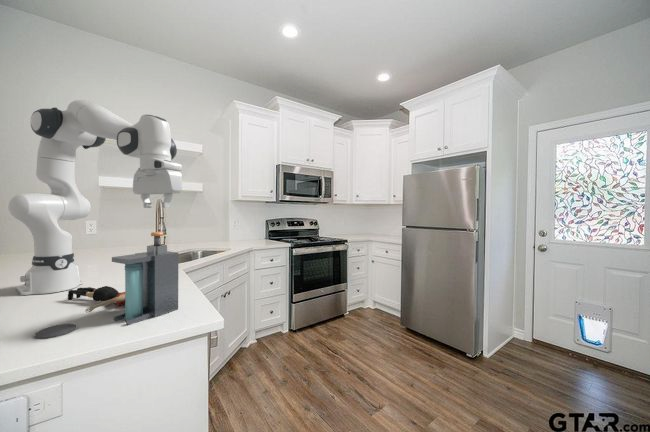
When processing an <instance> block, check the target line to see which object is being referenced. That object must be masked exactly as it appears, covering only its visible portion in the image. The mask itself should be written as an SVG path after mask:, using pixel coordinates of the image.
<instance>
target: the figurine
mask: <svg viewBox="0 0 650 432" xmlns="http://www.w3.org/2000/svg"><path fill="white" fill-rule="evenodd" d="M67 293H68V294H67V300H68V301H69V300H70V301H72V300H74V295H76V299H80V298H81V297H88V298H90V299H92V300H93V301H95V302H99V303H97V304H95V305H94V304H93V305H89V306H88V307H86V309H85V313H86V314H87V313H90V312H92V311H94V310H95V309H96V308H100V307H102V306H103V307H104V306H107V305H110V304H113V303H115V305H116V306H117V307H120V306H123V305H125V291H123V292H119V291H118V290H117V289H116V288H114V287H111V286H108V285H105V286H100V287H98V288H94V287H77V288H76V289H69V290H67Z"/></svg>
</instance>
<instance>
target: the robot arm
mask: <svg viewBox="0 0 650 432" xmlns="http://www.w3.org/2000/svg"><path fill="white" fill-rule="evenodd" d="M30 127H31V130H32V132H34V134H35V135H38V136H40V137H41V139H40V140H39V145H38V149H37V156H36V158H37V159H36V171H35V172H36V173H35V175H36V177H37V179H38V180H39V181H41V182H42V183H44V184H46V185H47V186H48V187H49V189H50V193H41V192H40V193H39V192H31V193H21V194H16V195H14V196H13V197H11V199H10V200H9V202H8V208H7V209H8V212H9V213H10V215H11V216H12V217H13V218H14V219H16V220H18V221H20V222H21V223H22V224H24V225H25V226H26V228H28V230H29V231H30V233H31V236H32V238H33V239H32V241H33V247H34V252H33V253H34V255H33V257H32V259H31V265H32V266H30V268H29V269H28V270H27V272H26V273H25V274H24V275H21V276H20V277H19V279H20V282H21V283H24V284H20V285H17V286H16V287H15V288H16V290H17V291H18V293H19V295H20V296H28V295H44V294H52V293H58V292H59V293H60V292H64V291H69V290H73V289H75V288H78V287H79V286H80V285H82V284H84V281H83V280H80V273H79V266H78V265H77V264H75V263H74V262H75V253H74V251H73V235H72V234H71V233H70V232H69V231H66V230H64V229H62V228H61V227H60V225H59V223H58V221H60V222H61V221H74V220H81V219H84V218H86V217H88V216H89V214H90V212H91V210H92V206H91V202H90V201H89V200H88V199H87V197H85V196H83V194H82V193H81V192H80V190H79V188H78V185H77V182H76V162H77V161H76V159H77V156H76V154H77V149H79V147H82V148H83V149H84V150H88V149H90V148H98V147H100V146H102V145H103V144H104V143H105V141H106V139H108V140H113V141H116V145H117V147H118V150H119V151H120V153H122V154H123V155H126V156H127V157H128V156H129V157H132V158H136V159H137V158H138V159H139V167H138V168H137V170H136V171H135V173H134V174H133V181H132V192H133V193H134V195H140V198H141V201H142V202H143V208H144V209H151V208H152V202H151V201H150V198H151V197H150V195H163V197H164V198H163V201H162V202H161V208H163V209H169V208H170V207H171V202H172V199H173V196H174V194H180V193H181V192H182V188H183V176H182V173H181V172H182V170H183V166H182V164H180V163H178V162H175V161H172V160H174V159H175V157H176V156H177V151H178V149H177V145H176V142H175V140H174V139H173V138H172V134H171V131H172V130H171V126H170V124H169V122H168V121H167V119H165V118H162V117H160V116H157V115H152V114H142V115H141V116H140V118H139V121H138V122H136V123H135V124H133V123H131V122H129V121H127V120H126V119H125V118H122V117H121V116H119V115H117V114H115V112H113V111H111V110H109V109H107V108H106V107H104V106H102V105H100V104H99V103H95V102H92V101H89V100H85V99H76V100H73V101H71V102H70V103H69V104H68V106H67V108H66V110H61V109H59V108H58V107H52V108H39V109H36V110H35V111H33V113H32V114H31V117H30Z"/></svg>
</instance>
